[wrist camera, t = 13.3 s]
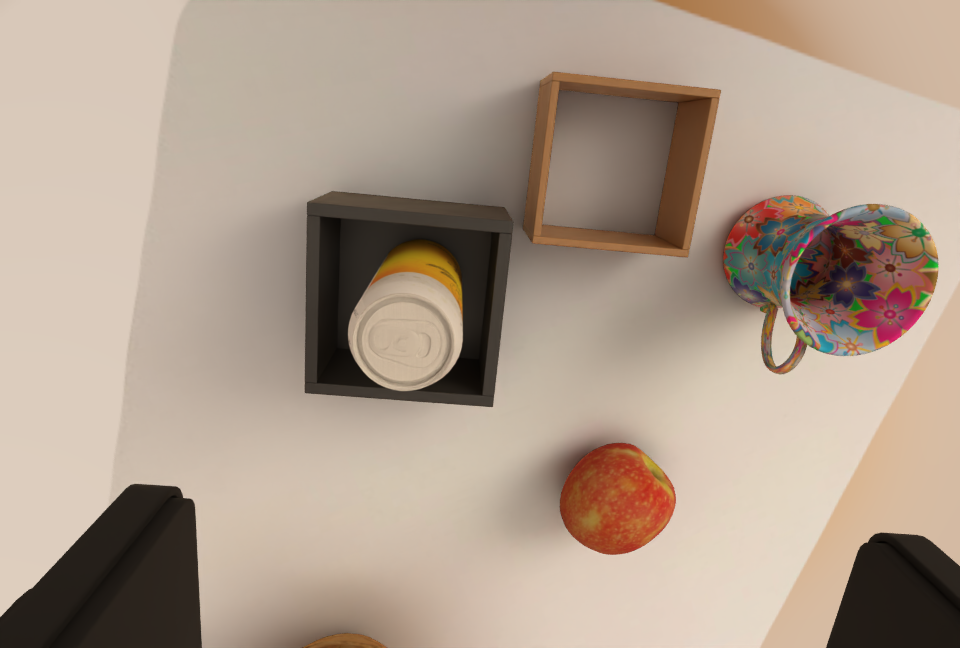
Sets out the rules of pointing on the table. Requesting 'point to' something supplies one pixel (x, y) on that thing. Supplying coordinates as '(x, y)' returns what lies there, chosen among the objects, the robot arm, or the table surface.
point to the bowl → (345, 642)
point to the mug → (832, 274)
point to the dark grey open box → (357, 257)
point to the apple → (616, 499)
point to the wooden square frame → (680, 174)
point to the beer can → (410, 318)
